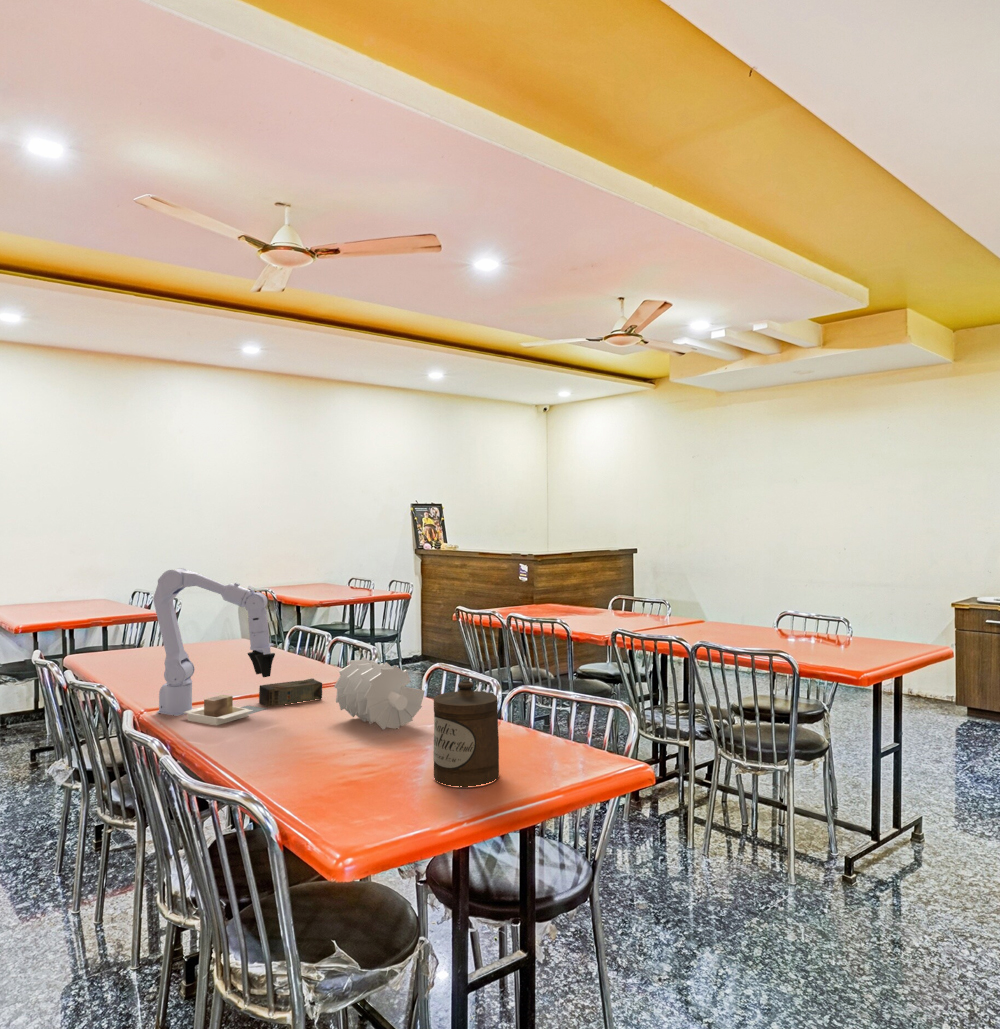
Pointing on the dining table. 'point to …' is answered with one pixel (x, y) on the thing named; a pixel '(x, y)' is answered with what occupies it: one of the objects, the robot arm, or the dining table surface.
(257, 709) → the mat
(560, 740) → the dining table surface
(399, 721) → the spiral staircase
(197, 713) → the white tray
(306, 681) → the beverage carton
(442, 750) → the wooden container
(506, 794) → the dining table surface
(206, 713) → the walnut block
